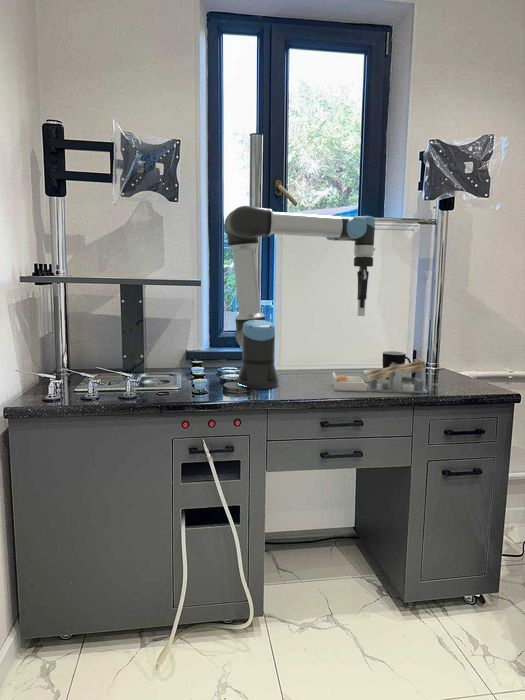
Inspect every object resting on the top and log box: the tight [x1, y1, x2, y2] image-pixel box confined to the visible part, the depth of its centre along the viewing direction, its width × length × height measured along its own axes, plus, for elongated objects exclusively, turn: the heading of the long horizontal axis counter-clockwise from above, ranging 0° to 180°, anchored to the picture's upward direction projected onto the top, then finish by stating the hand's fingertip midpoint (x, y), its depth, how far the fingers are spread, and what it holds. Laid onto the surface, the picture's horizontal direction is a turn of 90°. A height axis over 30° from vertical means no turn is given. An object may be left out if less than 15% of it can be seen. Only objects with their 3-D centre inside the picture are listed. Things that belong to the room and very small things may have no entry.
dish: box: [331, 371, 368, 392], centre depth 186 cm, size 11×11×4 cm
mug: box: [382, 350, 412, 379], centre depth 206 cm, size 12×9×10 cm
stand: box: [365, 365, 429, 394], centre depth 185 cm, size 21×11×8 cm, turn 87°
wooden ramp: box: [362, 357, 427, 381], centre depth 189 cm, size 20×16×4 cm
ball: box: [337, 374, 348, 382], centre depth 186 cm, size 4×4×4 cm
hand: (361, 315), depth 206 cm, fingers closed
